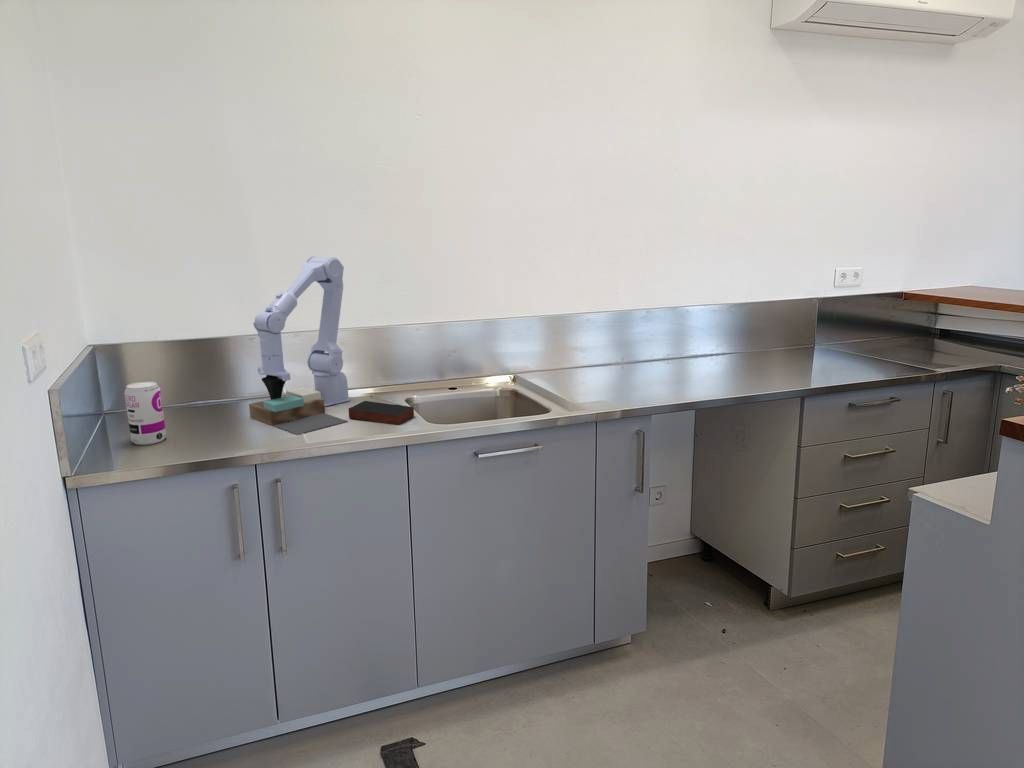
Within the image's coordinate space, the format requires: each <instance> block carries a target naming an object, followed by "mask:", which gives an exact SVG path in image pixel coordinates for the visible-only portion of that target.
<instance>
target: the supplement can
mask: <svg viewBox="0 0 1024 768" xmlns="http://www.w3.org/2000/svg"><path fill="white" fill-rule="evenodd" d="M161 390H162V389H161V387H160V386H159V385H158V383H157V382H156V381H139V382H138V381H137V382H133V383H129V384H127V385H126V386H125V390H124V400H125V407H126V413H127V420H128V428H129V434H130V440H131V442H132V443H134V444H135V445H139V446H148V445H155V444H158V443H160V442H163V441H164V440H165V438H166V437H167V430H166V422H165V414H164V407H163V401H162V398H163V397H162V391H161Z"/></svg>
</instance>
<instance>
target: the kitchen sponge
mask: <svg viewBox="0 0 1024 768" xmlns="http://www.w3.org/2000/svg"><path fill="white" fill-rule="evenodd" d="M370 398H373V399H376V400H380V401H383V402H384V403H383V402H377V401H370V400H364V401H361V402H359V403H357V404H355V405H353V406H351V407H349V408H348V418H349V419H354V420H362V421H369V422H376V423H377V422H378V423H381V424H382V423H384V424H391V425H397V426H399V425H402V424H403V423H405V422H407V421H409V420H410V419H412V418H414V417H415V409H414V408H415V407H414V406H408V405H402V404H399V403H394V402H391V401H387V400H384V399H381V398H377V397H373V396H372V395H371V396H370ZM385 402H387V403H385Z"/></svg>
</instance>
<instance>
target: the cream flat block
mask: <svg viewBox="0 0 1024 768" xmlns="http://www.w3.org/2000/svg"><path fill="white" fill-rule="evenodd" d="M285 394H286V395H285V396H291V395H293V396H296V397H300V398H303V399H304V402H308V401H312V400H317V399H321V392H319V391H316V390H315V389H312V388H308V387H306V386H302V387H298V388H291V389H289V390H286V391H285Z"/></svg>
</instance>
